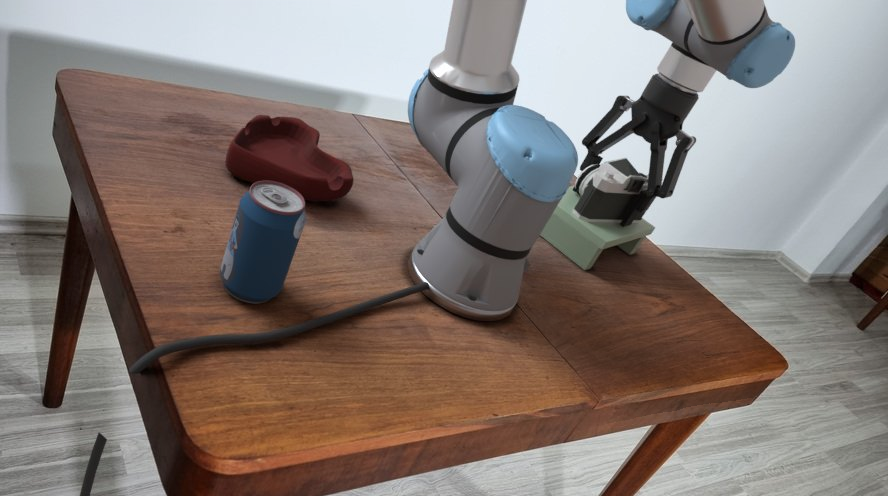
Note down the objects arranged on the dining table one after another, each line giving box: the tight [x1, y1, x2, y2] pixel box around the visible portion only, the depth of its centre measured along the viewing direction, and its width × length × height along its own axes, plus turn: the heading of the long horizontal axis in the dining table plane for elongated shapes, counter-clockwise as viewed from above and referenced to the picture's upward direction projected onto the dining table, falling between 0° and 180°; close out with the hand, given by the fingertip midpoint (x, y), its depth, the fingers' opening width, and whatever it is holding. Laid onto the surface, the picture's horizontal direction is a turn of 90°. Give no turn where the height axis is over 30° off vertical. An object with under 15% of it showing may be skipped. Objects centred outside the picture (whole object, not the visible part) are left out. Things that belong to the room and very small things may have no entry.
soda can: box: [219, 181, 307, 305], centre depth 75 cm, size 7×7×12 cm
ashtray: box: [224, 114, 355, 206], centre depth 98 cm, size 18×16×5 cm
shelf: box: [539, 185, 656, 271], centre depth 119 cm, size 18×14×6 cm
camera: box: [572, 157, 664, 223], centre depth 115 cm, size 16×9×10 cm, turn 120°
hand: (601, 207), depth 118 cm, fingers closed on camera, 9 cm apart
